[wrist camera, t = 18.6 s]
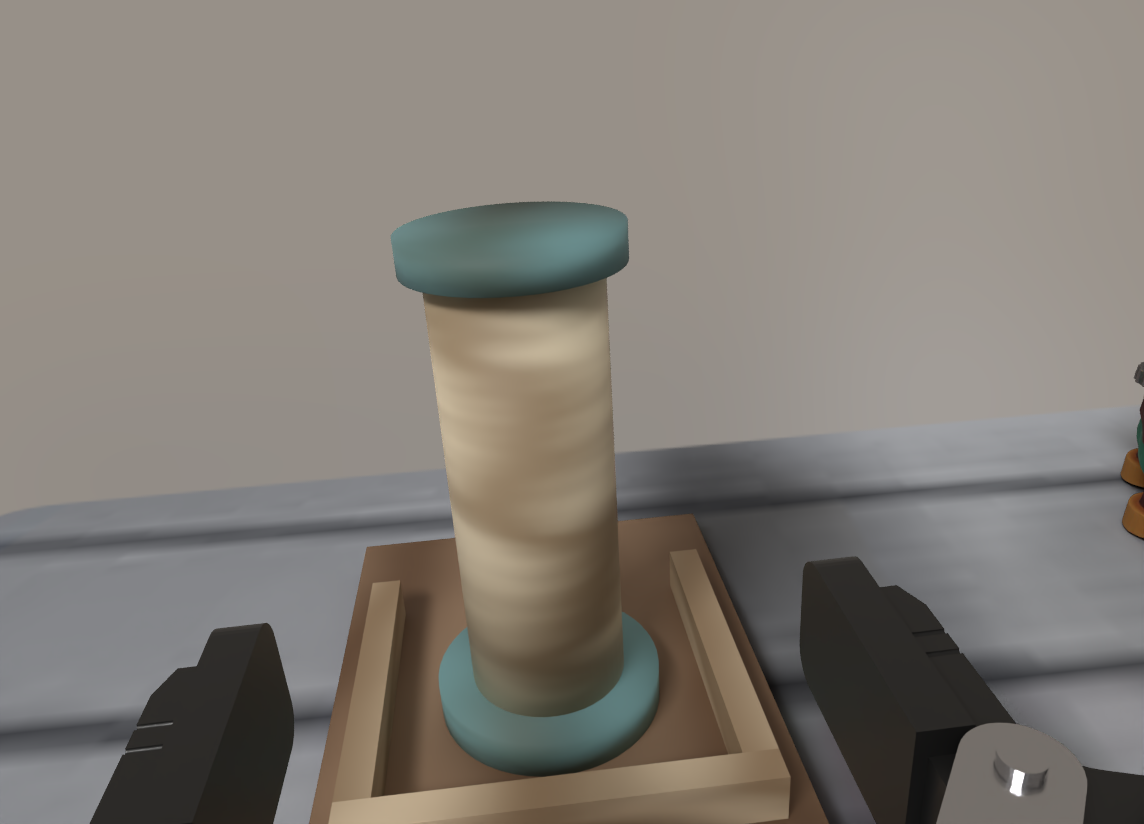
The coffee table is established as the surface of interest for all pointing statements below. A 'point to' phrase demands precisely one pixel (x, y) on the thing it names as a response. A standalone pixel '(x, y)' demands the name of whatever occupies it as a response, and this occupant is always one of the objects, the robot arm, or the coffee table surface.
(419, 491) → the coffee table surface
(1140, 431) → the binoculars
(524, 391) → the bobbin
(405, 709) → the brown wooden tray
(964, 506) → the coffee table surface
